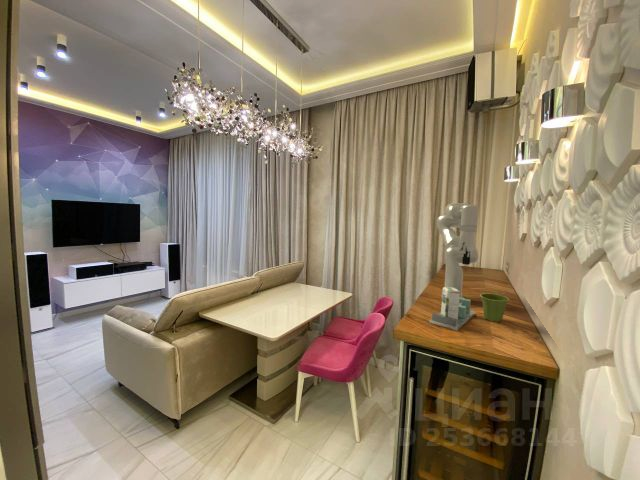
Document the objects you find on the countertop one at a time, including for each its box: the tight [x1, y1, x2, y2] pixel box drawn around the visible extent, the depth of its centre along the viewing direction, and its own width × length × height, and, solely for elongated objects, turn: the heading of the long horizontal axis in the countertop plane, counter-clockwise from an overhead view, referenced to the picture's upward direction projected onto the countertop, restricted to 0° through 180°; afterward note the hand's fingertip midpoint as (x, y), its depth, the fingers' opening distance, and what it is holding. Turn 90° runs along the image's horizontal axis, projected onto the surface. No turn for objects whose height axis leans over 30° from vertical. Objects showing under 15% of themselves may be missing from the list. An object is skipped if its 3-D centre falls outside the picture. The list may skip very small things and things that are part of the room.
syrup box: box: [440, 286, 460, 320], centre depth 125 cm, size 6×6×14 cm
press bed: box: [429, 309, 476, 331], centre depth 130 cm, size 28×12×4 cm, turn 136°
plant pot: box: [479, 292, 510, 323], centre depth 129 cm, size 12×12×11 cm
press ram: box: [458, 298, 472, 318], centre depth 133 cm, size 12×10×6 cm
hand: (465, 264), depth 138 cm, fingers closed
